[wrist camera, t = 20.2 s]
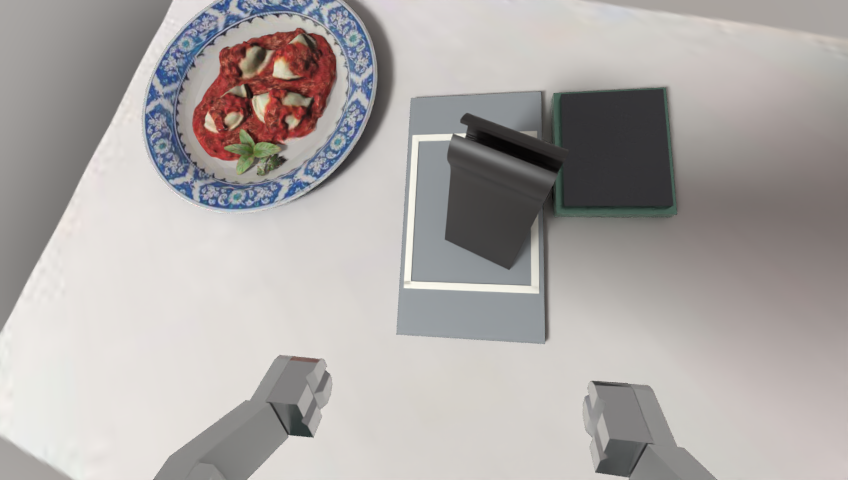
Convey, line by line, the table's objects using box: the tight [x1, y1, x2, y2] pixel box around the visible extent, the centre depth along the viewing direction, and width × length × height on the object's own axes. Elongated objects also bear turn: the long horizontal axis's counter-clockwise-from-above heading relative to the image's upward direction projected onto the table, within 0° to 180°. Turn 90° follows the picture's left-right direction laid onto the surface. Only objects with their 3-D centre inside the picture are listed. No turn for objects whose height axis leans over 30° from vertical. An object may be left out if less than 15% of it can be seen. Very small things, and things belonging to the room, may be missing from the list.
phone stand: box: [445, 113, 569, 270], centre depth 24 cm, size 9×6×12 cm, turn 153°
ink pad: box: [552, 88, 677, 217], centre depth 29 cm, size 9×11×2 cm
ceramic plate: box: [142, 0, 377, 214], centre depth 36 cm, size 26×26×3 cm
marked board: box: [396, 91, 545, 344], centre depth 31 cm, size 12×22×1 cm, turn 178°
